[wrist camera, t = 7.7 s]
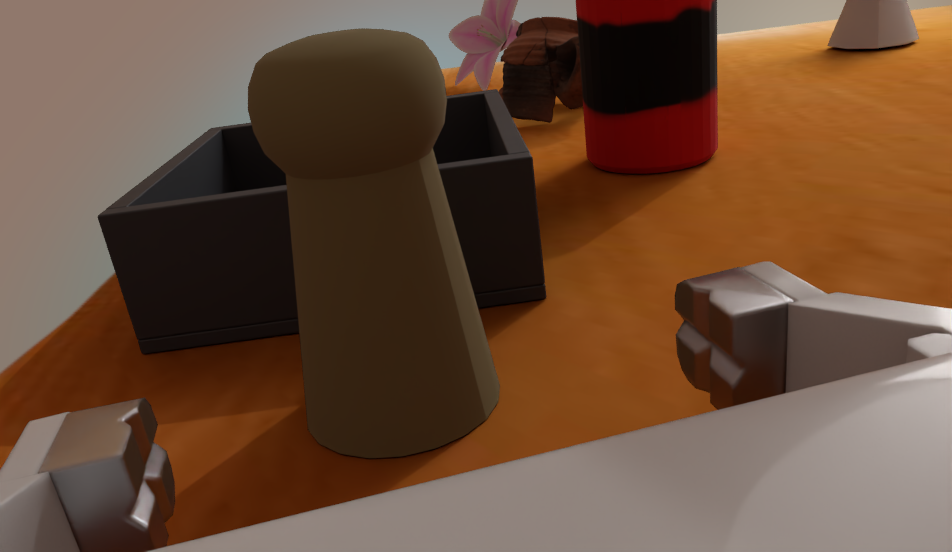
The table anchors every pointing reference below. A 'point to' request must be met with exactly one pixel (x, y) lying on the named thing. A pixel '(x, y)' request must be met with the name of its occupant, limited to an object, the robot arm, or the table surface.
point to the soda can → (648, 83)
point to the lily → (485, 39)
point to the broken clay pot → (542, 69)
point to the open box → (269, 236)
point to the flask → (874, 25)
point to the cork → (373, 243)
